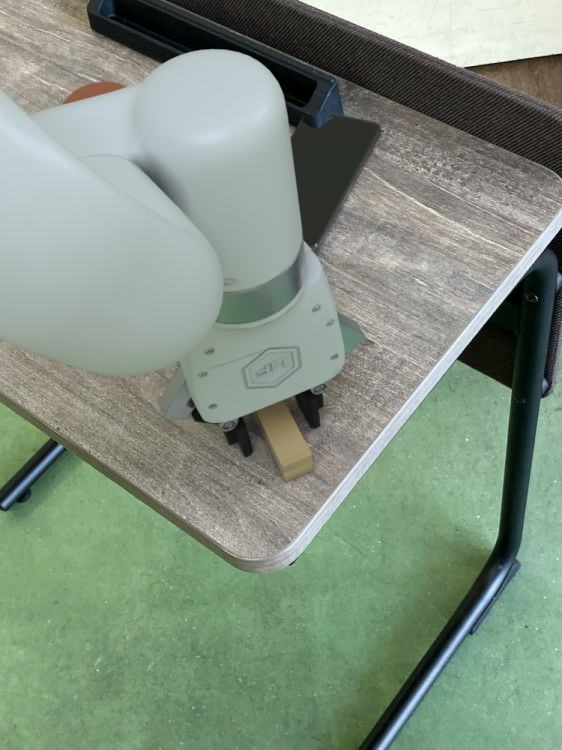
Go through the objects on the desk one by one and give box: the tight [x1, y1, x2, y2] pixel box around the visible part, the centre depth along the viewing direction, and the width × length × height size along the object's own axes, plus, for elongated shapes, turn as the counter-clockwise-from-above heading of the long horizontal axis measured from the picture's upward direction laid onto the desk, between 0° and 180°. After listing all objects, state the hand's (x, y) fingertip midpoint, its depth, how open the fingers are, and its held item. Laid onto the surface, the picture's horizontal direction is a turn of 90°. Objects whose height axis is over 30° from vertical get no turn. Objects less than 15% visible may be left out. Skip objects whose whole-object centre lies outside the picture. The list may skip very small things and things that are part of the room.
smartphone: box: [290, 112, 382, 254], centre depth 82 cm, size 7×1×16 cm
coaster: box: [62, 80, 126, 105], centre depth 90 cm, size 7×7×1 cm
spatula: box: [251, 399, 315, 483], centre depth 70 cm, size 15×5×2 cm, turn 23°
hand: (274, 424), depth 69 cm, fingers open, 4 cm apart
